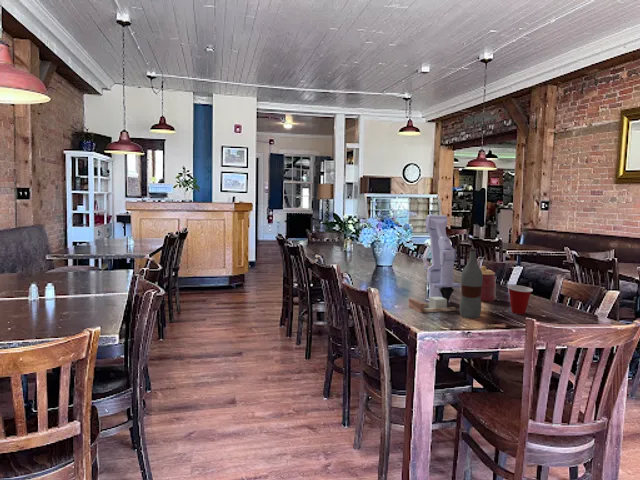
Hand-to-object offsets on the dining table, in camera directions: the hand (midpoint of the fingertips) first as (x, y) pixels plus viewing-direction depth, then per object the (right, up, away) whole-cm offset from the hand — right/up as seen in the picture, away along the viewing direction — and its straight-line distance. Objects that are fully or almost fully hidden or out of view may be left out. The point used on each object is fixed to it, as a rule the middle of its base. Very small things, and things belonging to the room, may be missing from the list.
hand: (445, 303), depth 224 cm
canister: (+25, -1, +22) cm, 34 cm away
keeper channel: (-7, -2, -2) cm, 8 cm away
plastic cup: (+32, -4, -7) cm, 33 cm away
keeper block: (-4, -2, -1) cm, 5 cm away
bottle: (+7, -4, -14) cm, 16 cm away
